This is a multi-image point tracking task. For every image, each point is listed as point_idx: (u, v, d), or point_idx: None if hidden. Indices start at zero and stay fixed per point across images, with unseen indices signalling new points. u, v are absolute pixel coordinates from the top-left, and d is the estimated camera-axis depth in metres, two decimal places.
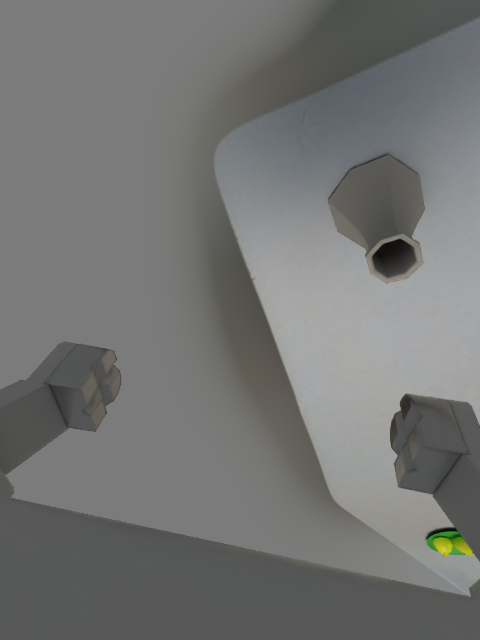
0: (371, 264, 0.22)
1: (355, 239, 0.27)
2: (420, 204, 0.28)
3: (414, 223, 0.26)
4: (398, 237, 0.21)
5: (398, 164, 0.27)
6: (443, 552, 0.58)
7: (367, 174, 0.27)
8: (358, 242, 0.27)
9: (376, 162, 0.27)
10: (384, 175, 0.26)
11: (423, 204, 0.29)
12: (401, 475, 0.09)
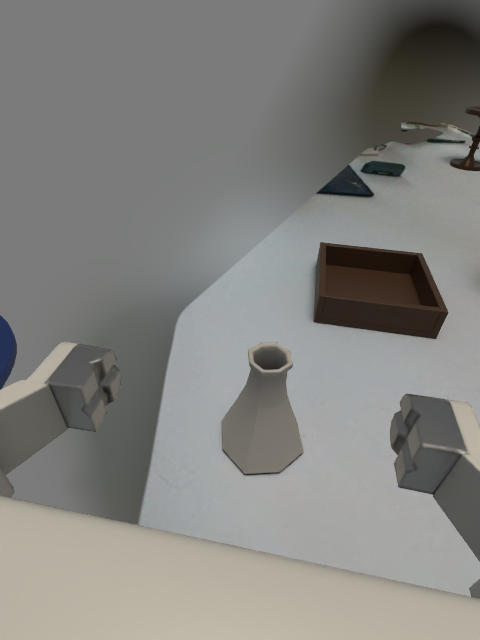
0: (270, 370, 0.25)
1: (273, 425, 0.28)
2: None
3: None
4: (250, 352, 0.26)
5: None
6: None
7: (227, 428, 0.31)
8: (274, 420, 0.27)
9: (223, 427, 0.32)
10: (230, 412, 0.31)
11: None
12: (401, 475, 0.09)
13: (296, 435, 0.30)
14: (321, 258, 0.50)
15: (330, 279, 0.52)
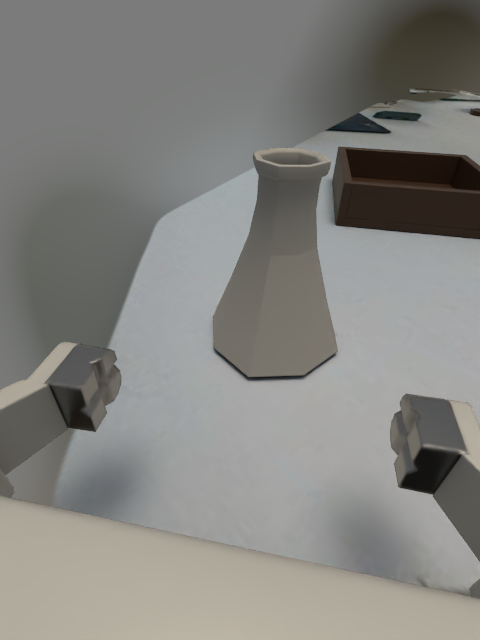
0: (293, 165, 0.14)
1: (294, 290, 0.17)
2: None
3: None
4: (257, 153, 0.16)
5: None
6: None
7: (221, 316, 0.20)
8: (296, 279, 0.17)
9: (216, 322, 0.21)
10: (225, 293, 0.20)
11: None
12: (401, 475, 0.09)
13: (328, 319, 0.19)
14: (341, 157, 0.40)
15: None
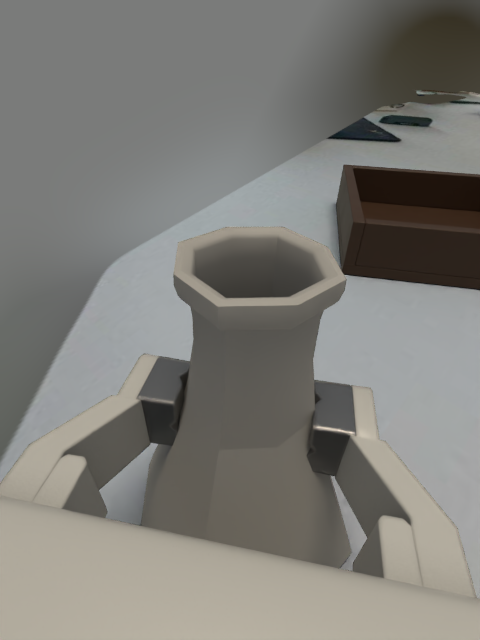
0: (256, 298, 0.06)
1: (270, 504, 0.09)
2: None
3: None
4: (185, 247, 0.07)
5: None
6: None
7: (150, 492, 0.12)
8: (274, 486, 0.08)
9: (149, 484, 0.13)
10: (159, 447, 0.12)
11: None
12: None
13: (336, 517, 0.10)
14: (348, 179, 0.31)
15: None
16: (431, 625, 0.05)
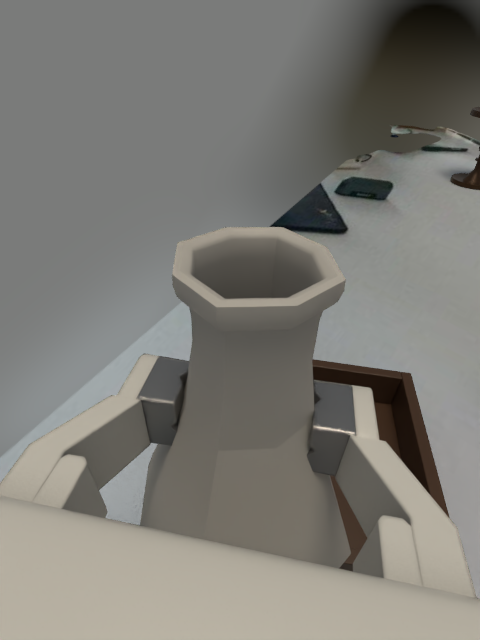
0: (255, 298, 0.06)
1: (269, 504, 0.09)
2: None
3: None
4: (184, 248, 0.07)
5: None
6: None
7: (149, 492, 0.12)
8: (273, 487, 0.08)
9: (148, 484, 0.13)
10: (159, 448, 0.12)
11: None
12: None
13: (336, 517, 0.10)
14: None
15: None
16: (431, 625, 0.05)
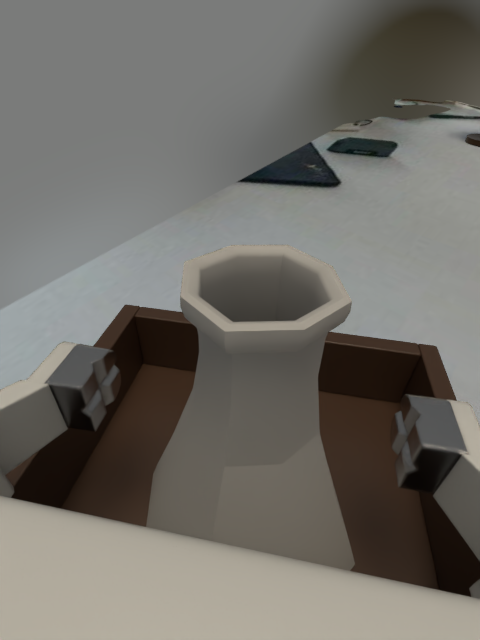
0: (262, 322, 0.06)
1: (274, 519, 0.09)
2: None
3: None
4: (191, 267, 0.07)
5: None
6: None
7: (154, 503, 0.12)
8: (279, 502, 0.08)
9: (153, 494, 0.13)
10: (164, 458, 0.12)
11: None
12: (401, 475, 0.09)
13: (340, 529, 0.11)
14: None
15: (130, 438, 0.15)
16: (431, 625, 0.05)
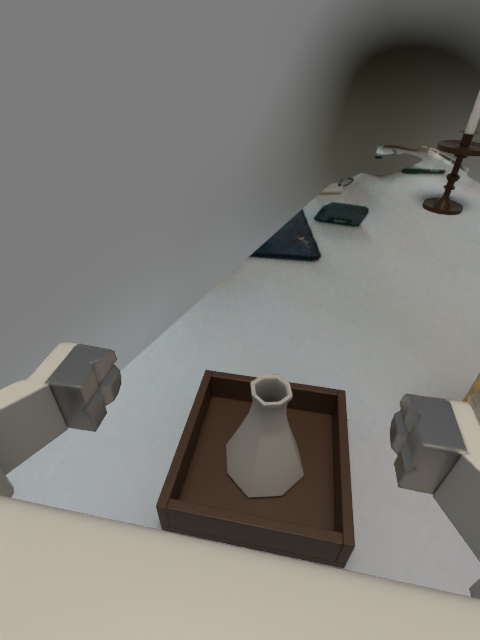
0: (271, 402, 0.27)
1: (274, 452, 0.29)
2: None
3: None
4: (252, 384, 0.28)
5: None
6: None
7: (231, 453, 0.32)
8: (275, 447, 0.29)
9: (228, 451, 0.34)
10: (234, 437, 0.33)
11: None
12: (401, 474, 0.09)
13: (297, 460, 0.31)
14: (193, 407, 0.34)
15: (213, 431, 0.36)
16: (431, 625, 0.05)
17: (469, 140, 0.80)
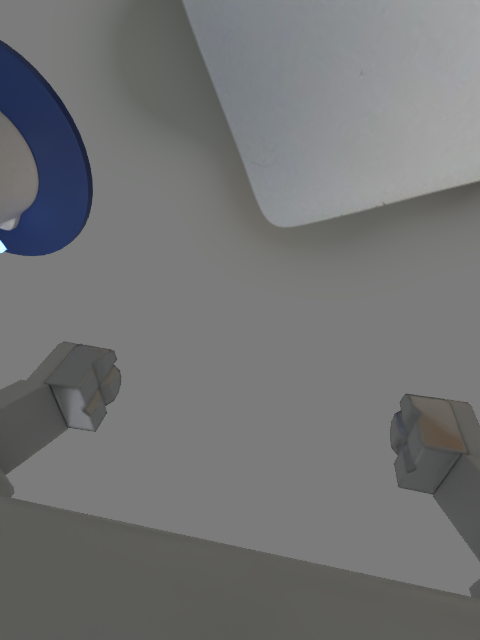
0: None
1: None
2: None
3: None
4: None
5: None
6: None
7: None
8: None
9: None
10: None
11: None
12: (401, 475, 0.09)
13: None
14: None
15: None
16: (431, 625, 0.05)
17: None
